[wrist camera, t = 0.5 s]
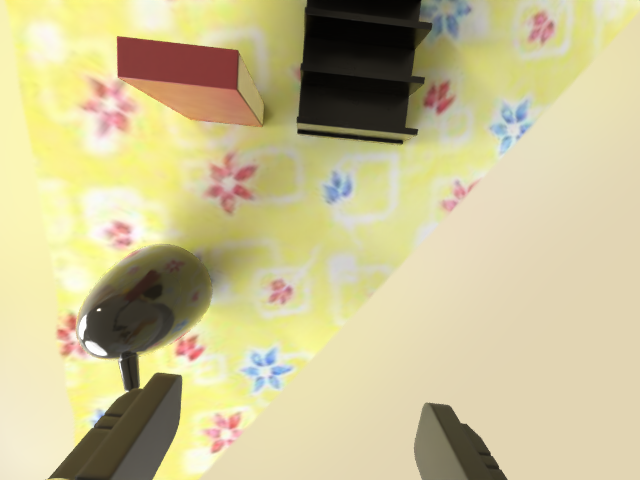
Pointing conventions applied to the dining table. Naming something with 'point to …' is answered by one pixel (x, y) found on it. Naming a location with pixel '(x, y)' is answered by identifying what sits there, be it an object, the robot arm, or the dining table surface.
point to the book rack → (359, 69)
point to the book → (192, 80)
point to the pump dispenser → (143, 306)
